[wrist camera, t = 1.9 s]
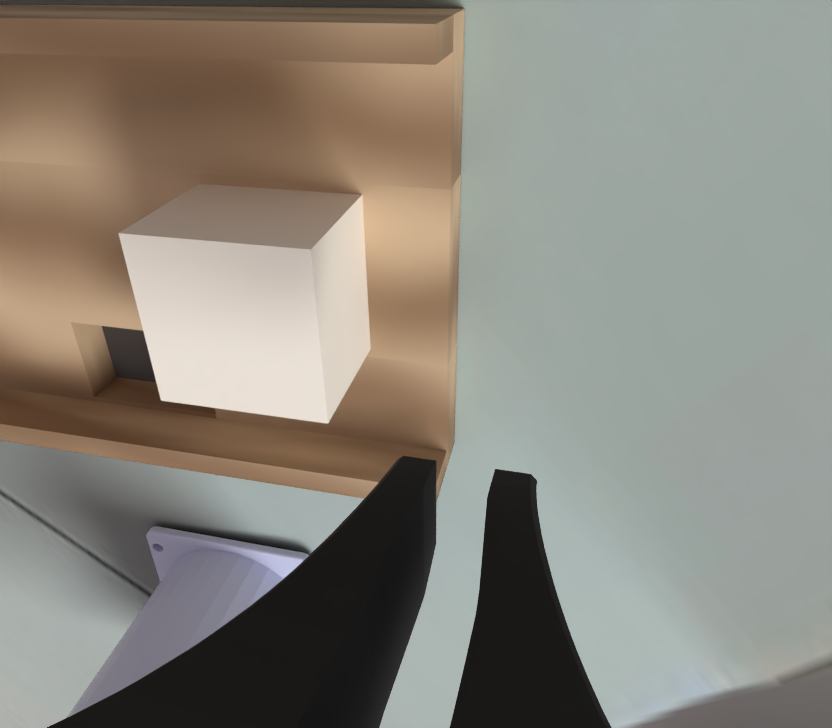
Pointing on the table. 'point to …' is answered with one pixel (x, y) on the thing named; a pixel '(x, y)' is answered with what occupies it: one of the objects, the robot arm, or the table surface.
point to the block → (253, 298)
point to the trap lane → (231, 166)
